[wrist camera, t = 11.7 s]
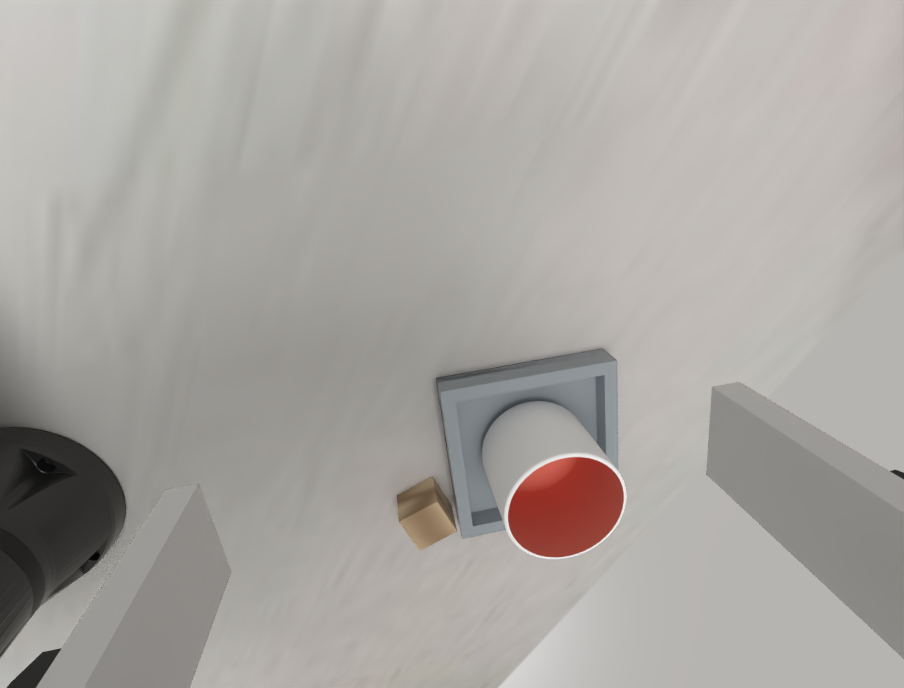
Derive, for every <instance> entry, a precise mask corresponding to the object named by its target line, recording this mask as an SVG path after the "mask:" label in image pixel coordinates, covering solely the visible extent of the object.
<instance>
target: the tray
mask: <svg viewBox="0 0 904 688" xmlns="http://www.w3.org/2000/svg"><path fill="white" fill-rule="evenodd" d="M436 381H437V387H438V394H439V400H440V407H441V413H442V420H443V426H444V433H445V440H446V446H447V453H448V459H449V466H450V472H451V479H452V485H453V492H454V498H455V505H456V512H457V518H458V523H459V527H460V531H461V536H462V539H464V538H469V537H474V536H478V535H483V534H488V533H493V532H498V531H502V530H506V529H505V526H504V523H503V520H502V517H501V514H500V512H499V509H498V506H497V503H496V500H495V498H494V495H493V492H492V489H491V486H490V484H489V481H488V478H487V475H486V472H485V469H484V466H483V462H482V447H483V441H484V438H485V436H486V433H487V432H488V430H489V428H490V427H491V425H492V424H493V422H494V421H495V420H496V419H497V418H498V417H499V416H500V415H501V414H503V413H504V412H505V411H507V410H509V409H510V408H512V407H514V406H516V405H519V404H522V403H526V402H532V401H546V402H551V403H555V404H558V405H560V406H562V407H564V408H566V409H567V410H569V411H570V412H571V413H572V414H573V415H574V416H575V417H576V418H577V419H578V420H579V422H580V423H581V424H582V426H583V427H584V428H585V429H586V431H587V432H588V433H589V434H590V436H591V437H592V438H593V439H594V441H595V442H596V443H597V444H598V446H599V447H600V448H601V449H602V451H603V452H604V453H605V454H606V456H607V457H608V458H609V460H610V461H611V462H612V463H613V465H614V466H615V467H616V468H617V470H618V390H617V360H616V359H615V358H614V357H612V356H611V355H610V354H609V353H607V352H606V351H605V350H604V349H599V350H593V351H587V352H582V353H576V354H570V355H565V356H559V357H554V358H548V359H542V360H537V361H531V362H525V363H520V364H514V365H508V366H503V367H497V368H491V369H486V370H480V371H474V372H469V373H463V374H458V375H452V376H446V377H441V378H436Z"/></svg>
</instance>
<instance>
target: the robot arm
mask: <svg viewBox="0 0 904 688" xmlns="http://www.w3.org/2000/svg"><path fill="white" fill-rule="evenodd" d="M706 475H707V476H709V477H710V478H711V479H712V480H713V481H714V482H715V483H716V484H717V485H718V486H719V487H720V488H721V489H723V490H724V491H725V492H726V493H727V494H728V495H729V496H730V497H731V498H732V499H733V500H734V501H735V502H736V503H737V504H739V505H740V506H741V507H742V508H743V509H744V510H745V511H746V512H747V513H748V514H749V515H750V516H751V517H752V518H753V519H755V520H756V521H757V522H758V523H759V524H760V525H761V526H762V527H763V528H764V529H765V530H766V531H767V532H768V533H770V534H771V535H772V536H773V537H774V538H775V539H776V540H777V541H778V542H779V543H780V544H781V545H782V546H784V547H785V548H786V549H787V550H788V551H789V552H790V553H791V554H792V555H793V556H794V557H795V558H796V559H797V560H798V561H799V562H801V563H802V564H803V565H804V566H805V567H806V568H807V569H808V570H809V571H810V572H811V573H812V574H813V575H814V576H816V577H817V578H818V579H819V580H820V581H821V582H822V583H823V584H824V585H825V586H826V587H827V588H828V589H829V590H831V591H832V592H833V593H834V594H835V595H836V596H837V597H838V598H839V599H840V600H841V601H842V602H843V603H844V604H846V605H847V606H848V607H849V608H850V609H851V610H852V611H853V612H854V613H855V614H856V615H857V616H858V617H859V618H861V619H862V620H863V621H864V622H865V623H866V624H867V625H868V626H869V627H870V628H871V629H872V630H873V631H874V632H875V633H877V634H878V635H879V636H880V637H881V638H882V639H883V640H884V641H885V642H886V643H887V644H888V645H889V646H890V647H892V648H893V649H894V650H895V651H896V652H897V653H898V654H899V655H900V656H901V657H902V658H903V659H904V473H903V472H900V471H898V470H893V471H888V470H887V469H885V468H883V467H882V466H880V465H878V464H877V463H875V462H873V461H872V460H870V459H868V458H867V457H865V456H863V455H862V454H860V453H858V452H857V451H855V450H853V449H852V448H850V447H848V446H846V445H845V444H843V443H841V442H840V441H838V440H836V439H835V438H833V437H831V436H830V435H828V434H826V433H825V432H823V431H821V430H820V429H818V428H816V427H814V426H813V425H811V424H809V423H808V422H806V421H804V420H803V419H801V418H799V417H798V416H796V415H794V414H793V413H791V412H789V411H788V410H786V409H784V408H782V407H781V406H779V405H777V404H776V403H774V402H772V401H771V400H769V399H767V398H766V397H764V396H762V395H761V394H759V393H757V392H756V391H754V390H752V389H751V388H749V387H747V386H746V385H744V384H742V383H740V382H735V383H730V384H725V385H719V386H714V387H712V396H711V411H710V426H709V441H708V456H707V471H706ZM124 518H125V502H124V497H123V494H122V491H121V488H120V486H119V484H118V482H117V480H116V479H115V477H114V475H113V474H112V473H111V471H110V470H109V469H108V468H107V467H106V465H105V464H104V463H103V462H102V461H101V460H99V459H98V458H97V457H96V456H95V455H93V454H92V453H91V452H89V451H88V450H87V449H85V448H83V447H82V446H80V445H78V444H76V443H74V442H72V441H70V440H68V439H66V438H63V437H61V436H58V435H55V434H52V433H48V432H44V431H40V430H34V429H27V428H0V658H1V657H2V655H3V654H4V653H5V651H6V650H7V649H8V647H9V646H10V645H11V643H12V642H13V641H14V639H15V638H16V637H17V635H18V634H19V633H20V631H21V630H22V629H23V627H24V626H25V625H26V623H27V622H28V621H29V619H30V618H31V617H32V615H33V614H34V613H35V612H36V610H37V609H38V608H39V607H40V606H41V605H42V604H44V603H45V602H47V601H48V600H49V599H51V598H52V597H54V596H55V595H56V594H58V593H59V592H60V591H62V590H63V589H65V588H66V587H67V586H69V585H70V584H72V583H73V582H74V581H76V580H77V579H78V578H80V577H81V576H83V575H84V574H85V573H87V572H88V571H89V570H91V569H92V568H93V567H94V566H95V565H96V564H97V563H98V562H99V561H100V560H101V559H102V558H103V557H104V555H105V554H106V553H107V551H108V550H109V548H110V547H111V546H112V544H113V543H114V541H115V540H116V538H117V537H118V535H119V533H120V531H121V529H122V526H123V523H124ZM230 574H231V569H230V567H229V564H228V561H227V559H226V556H225V553H224V551H223V548H222V545H221V543H220V540H219V537H218V535H217V532H216V529H215V527H214V524H213V521H212V518H211V516H210V513H209V510H208V508H207V505H206V502H205V500H204V497H203V494H202V492H201V489H200V486H199V484H193V485H188V486H182V487H177V488H172V489H166V490H165V491H164V492H163V494H162V496H161V497H160V499H159V500H158V502H157V503H156V505H155V506H154V508H153V509H152V511H151V512H150V514H149V515H148V517H147V519H146V520H145V522H144V523H143V525H142V526H141V528H140V529H139V531H138V532H137V534H136V535H135V537H134V538H133V540H132V541H131V543H130V545H129V546H128V548H127V549H126V551H125V552H124V554H123V555H122V557H121V558H120V560H119V561H118V563H117V564H116V566H115V568H114V569H113V571H112V572H111V574H110V575H109V577H108V578H107V580H106V581H105V583H104V584H103V586H102V587H101V589H100V590H99V592H98V594H97V595H96V597H95V598H94V600H93V601H92V603H91V604H90V606H89V607H88V609H87V610H86V612H85V613H84V615H83V616H82V618H81V620H80V621H79V623H78V624H77V626H76V627H75V629H74V630H73V632H72V633H71V635H70V636H69V638H68V639H67V641H66V643H65V644H64V646H63V647H62V648H61V649H56V650H51V651H47V652H42V653H41V654H40V655H39V656H38V657H37V658H36V659H35V660H34V661H33V662H32V663H31V664H30V665H29V666H28V667H27V668H26V669H25V670H24V671H22V672H21V673H20V674H19V675H18V676H17V677H16V678H15V679H14V680H13V681H12V682H11V683H10V684H9V686H8V687H7V688H190V686H191V683H192V680H193V677H194V674H195V672H196V669H197V666H198V663H199V660H200V658H201V655H202V652H203V649H204V646H205V644H206V641H207V638H208V635H209V633H210V630H211V627H212V624H213V621H214V619H215V616H216V613H217V610H218V607H219V605H220V602H221V599H222V596H223V593H224V591H225V588H226V585H227V582H228V580H229V577H230Z"/></svg>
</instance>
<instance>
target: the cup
mask: <svg viewBox="0 0 904 688" xmlns="http://www.w3.org/2000/svg"><path fill="white" fill-rule="evenodd" d="M482 462H483V466H484V469H485V472H486V475H487V478H488V481H489V484H490V486H491V489H492V492H493V495H494V498H495V500H496V503H497V506H498V509H499V512H500V514H501V517H502V520H503V523H504V526H505V529H506V531H507V533H508V535H509V537H510V539H511V540H512V541H513V543H514V544H515V545H516V546H517V547H519V548H520V549H521V550H523V551H524V552H526V553H528V554H530V555H533V556H535V557H539V558H544V559H564V558H570V557H574V556H577V555H580V554H582V553H585V552H587V551H589V550H591V549H592V548H594V547H596V546H597V545H599V544H600V543H601V542H603V541H604V540H605V539H606V538H607V537H608V536H609V535H610V534H611V533H612V532H613V531H614V529H615V528H616V526H617V525H618V523H619V522H620V520H621V518H622V515H623V513H624V509H625V506H626V498H627V493H626V486H625V482H624V480H623V477H622V476H621V474H620V472H619V471H618V470H617V468H616V467H615V466H614V465H613V463H612V462H611V461H610V460H609V458H608V457H607V456H606V454H605V453H604V452H603V451H602V449H601V448H600V447H599V446H598V444H597V443H596V442H595V441H594V439H593V438H592V437H591V436H590V434H589V433H588V432H587V431H586V429H585V428H584V427H583V426H582V424H581V423H580V422H579V420H578V419H577V418H576V417H575V416H574V415H573V414H572V413H571V412H570V411H569V410H567V409H566V408H564V407H562V406H560V405H558V404H555V403H551V402H546V401H532V402H526V403H522V404H519V405H516V406H514V407H512V408H510V409H509V410H507V411H505V412H504V413H503V414H501V415H500V416H499V417H498V418H497V419H496V420H495V421H494V422H493V424H492V425H491V427H490V428H489V430H488V432H487V433H486V436H485V438H484V441H483V447H482Z"/></svg>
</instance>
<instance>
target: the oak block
mask: <svg viewBox="0 0 904 688" xmlns="http://www.w3.org/2000/svg"><path fill="white" fill-rule="evenodd" d="M397 500H398V515H399V523H400V524H401V525H402V527H403V528H404V530H405V531H406V532H407V534H408V535H409V536H410V538H411V539H412V541H413V542H414V543H415V545H416V546H417V547H418V549H419V550H422V549H424V548H426V547H428V546H430V545H432V544H433V543H435V542H437V541H439V540H441V539H443V538H445V537H447V536H449V535H451V534H452V533H454V532H456V531H457V529H456V525H455V520H454V515H453V511H452V506H451V504H450V502H449V501H448V499H447V498H446V496H445V495H444V493H443V492H442V490H441V489H440V487H439V485H438V484H437V482H436V481H435V479H434V478H433V477H431V478H429V479H427V480H425V481H423V482H421V483H420V484H418V485H416V486H414V487H412V488H410V489H408V490H406V491H404V492H403V493H401V494H399V495H397Z"/></svg>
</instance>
